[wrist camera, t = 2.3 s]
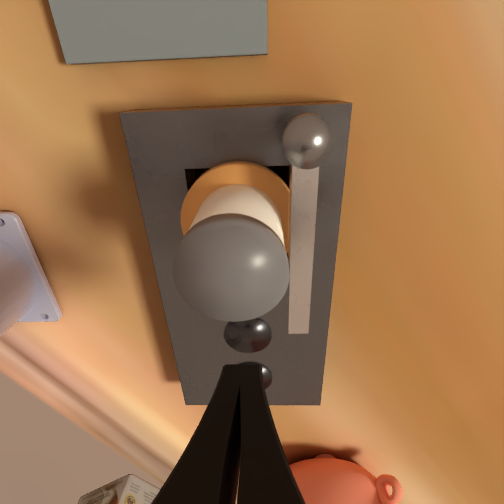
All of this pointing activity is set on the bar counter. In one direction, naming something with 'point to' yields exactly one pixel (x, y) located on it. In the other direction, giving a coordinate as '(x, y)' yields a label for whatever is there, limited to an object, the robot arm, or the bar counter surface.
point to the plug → (234, 242)
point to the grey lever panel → (170, 236)
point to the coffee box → (122, 492)
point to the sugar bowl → (342, 482)
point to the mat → (159, 29)
